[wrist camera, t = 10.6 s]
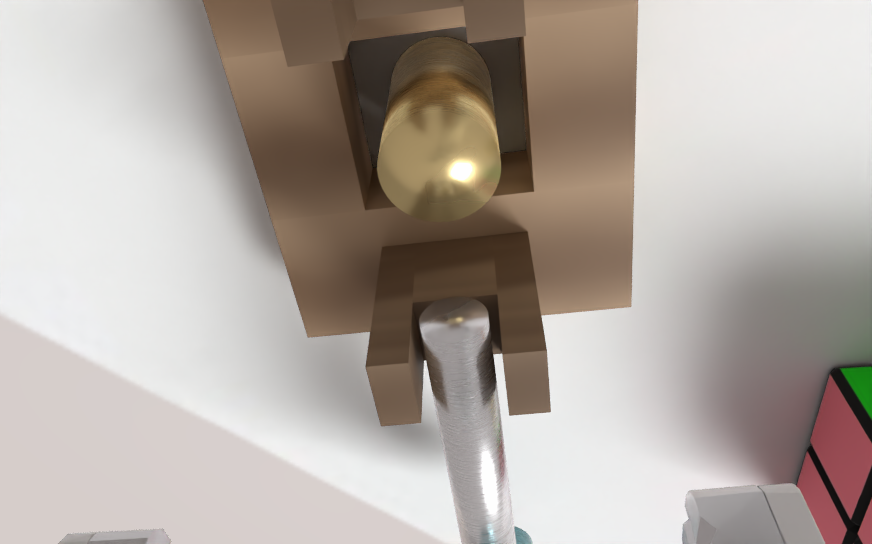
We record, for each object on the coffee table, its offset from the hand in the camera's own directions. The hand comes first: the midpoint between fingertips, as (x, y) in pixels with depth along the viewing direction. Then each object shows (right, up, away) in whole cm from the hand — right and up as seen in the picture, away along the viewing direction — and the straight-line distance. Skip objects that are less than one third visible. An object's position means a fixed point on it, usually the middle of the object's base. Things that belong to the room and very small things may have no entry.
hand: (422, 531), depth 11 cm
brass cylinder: (0, +10, +14) cm, 17 cm away
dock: (0, +10, +14) cm, 17 cm away
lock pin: (+2, -2, +18) cm, 18 cm away
